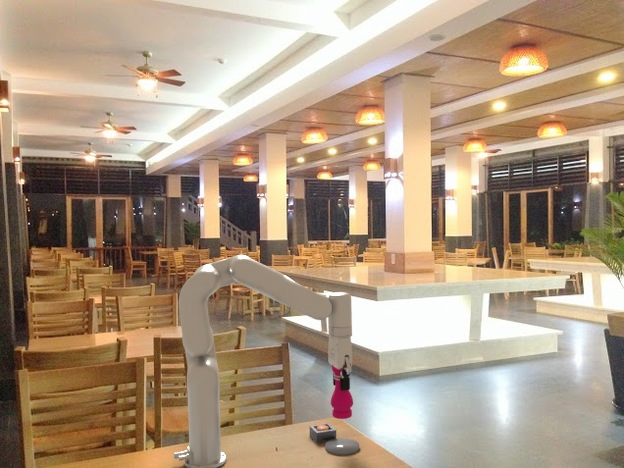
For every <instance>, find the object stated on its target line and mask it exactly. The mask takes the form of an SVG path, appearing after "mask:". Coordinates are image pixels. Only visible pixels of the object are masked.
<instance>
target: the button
mask: <svg viewBox="0 0 624 468" xmlns="http://www.w3.org/2000/svg"><path fill="white" fill-rule="evenodd" d="M325 430H329V427H328V426H325V425H321V426H318V427H317V431H325Z"/></svg>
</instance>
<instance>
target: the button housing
mask: <svg viewBox="0 0 624 468" xmlns="http://www.w3.org/2000/svg"><path fill="white" fill-rule="evenodd" d="M321 425H325V426H328V427H329V430H325V431H317V427H318V426H321ZM309 438H311V439H312V440H313V441H314V442H315V443H316V444H323V443H327V442H328V441H330V440H332V439H337V429H336V428H335V427H334V426H333V425H332V424H330V423H329V422H326V423H325V422H324V423H319V424H313V425H309Z"/></svg>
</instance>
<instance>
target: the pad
mask: <svg viewBox="0 0 624 468" xmlns="http://www.w3.org/2000/svg"><path fill="white" fill-rule="evenodd" d="M324 446H325V451H326V452H328V453H329V454H332V455H336V456H349V455H354V454H356V453H357V452H359V450H360V443H359V442H358V441H357V440H355V439H352V438H347V437H341V438H340V437H339V438H337V437H336V439H332V440H330V441H328V442H325V444H324Z"/></svg>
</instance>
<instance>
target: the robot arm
mask: <svg viewBox="0 0 624 468" xmlns="http://www.w3.org/2000/svg"><path fill="white" fill-rule="evenodd" d="M235 283H238V284H240V285H242V286H243V287H246V288H248V289H250V290H253V291H255V292H257V293H259V294H261V295H263V296H265V297H266V298H267V297H268V298H269V299H271V300H273V301H275V302H277V303H279V304H282V305H284V306H286V307H289V308H291V309H292V310H295V311H297V312H298V313H301V314H304V315H305V316H307V317H309V318H311V319H314V320H317V321H324V320H326V319H328V320H327V321H328V323H327V324H328V328H327V329H328V346H327V348H328V349H327V351H328V353H327V362H328V363H329V365H330V366H332V365H333V366H334V367H335V368H337V369H340V374H341V378H340V390H341V391H343V390H349V391H350V389H351V382H350V381H351V372H353V371H352V370H353V369H352V367H353V347H352V346H353V345H352V339H351V338H352V336H353V321H352V320H353V319H352V317H353V316H352V313H353V311H352V310H353V309H352V296H351V294H350V293H348V292H344V291H340V292H339V291H337V292H329V293H328V292H318V291H317V292H316V291H313V290H311V289H310V288H308V287H305V286H303V285H301V284H300V283H298V282H296V281H294V280H293V279H292V278H290V277H289V276H287V275H285V274H283V273H281V272H280V271H278V270H276V269H274V268H272V267H269V266H267V265H265V264H263V263H261V262H259V261H257V260H255V259H252V258H251V257H249V256H248V255H245V254H238V255H234V256H230V257H227V258H225V259H224V258H223V259H221V260H217V261H214V262H211V263H207V264H204V265H200V267H198V268H197V269H196V270H195V272H194V273H193V275H191V276H190V277H189V278H188V279H187V280H186V281H185V283H184V284H183V286H182V287H181V289H180V292H179V296H178V310H179V311H178V312H179V319H180V325H181V326H180V328H181V333H182V338H181V340H182V346H183V349H184V352H185V359H186V366H187V372H186V390H187V391H186V392H187V415H188V440H189V441H188V446H187V447H186V449H184V450H183V451H175V452H173V459H174V460H177V459H178V461H179V462H180V461H184V463H183V464H184V466H185V467H186V468H220V467H221V466H222V465H224V464H225V463H226V461H227V456H226V454H225V452H223V451H222V449H221V447H222V446H221V445H222V443H221V437H222V436H221V411H220V410H221V409H220V370H219V365H218V358H217V353H216V352H217V351H216V345H215V338H214V332H213V328H212V327H211V324H210V316H209V310H208V309H209V308H208V307H209V306H208V301H209V300H210V299H209V298H210V297H211V296H212V295H214V293H216V292H217V291H218V290H219V289H220V288H223V287H227V286H230V285H234V284H235ZM343 366H346V368H343ZM343 370H346V371H344V373H343ZM332 376H333V377H332V378H333V379H332V383H333V386H334V387H335V379H334V372H333V371H332Z"/></svg>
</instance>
